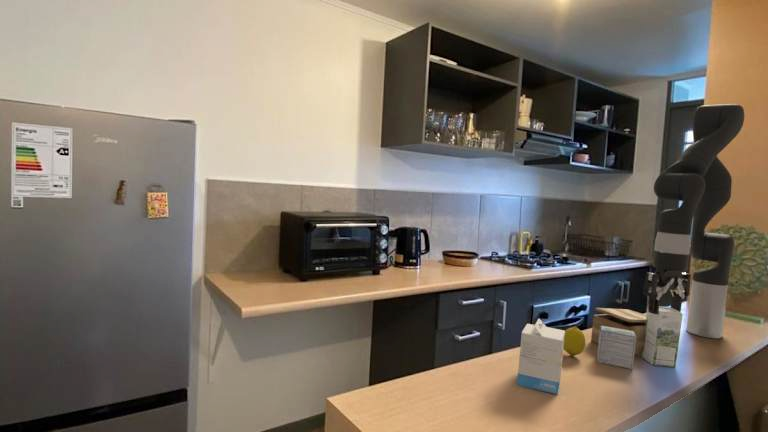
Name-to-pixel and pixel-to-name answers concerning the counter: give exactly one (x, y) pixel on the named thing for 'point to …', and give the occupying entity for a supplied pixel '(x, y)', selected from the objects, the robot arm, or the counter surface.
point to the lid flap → (624, 314)
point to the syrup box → (662, 337)
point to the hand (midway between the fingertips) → (664, 312)
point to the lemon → (574, 341)
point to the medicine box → (616, 347)
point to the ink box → (541, 357)
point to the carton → (621, 324)
